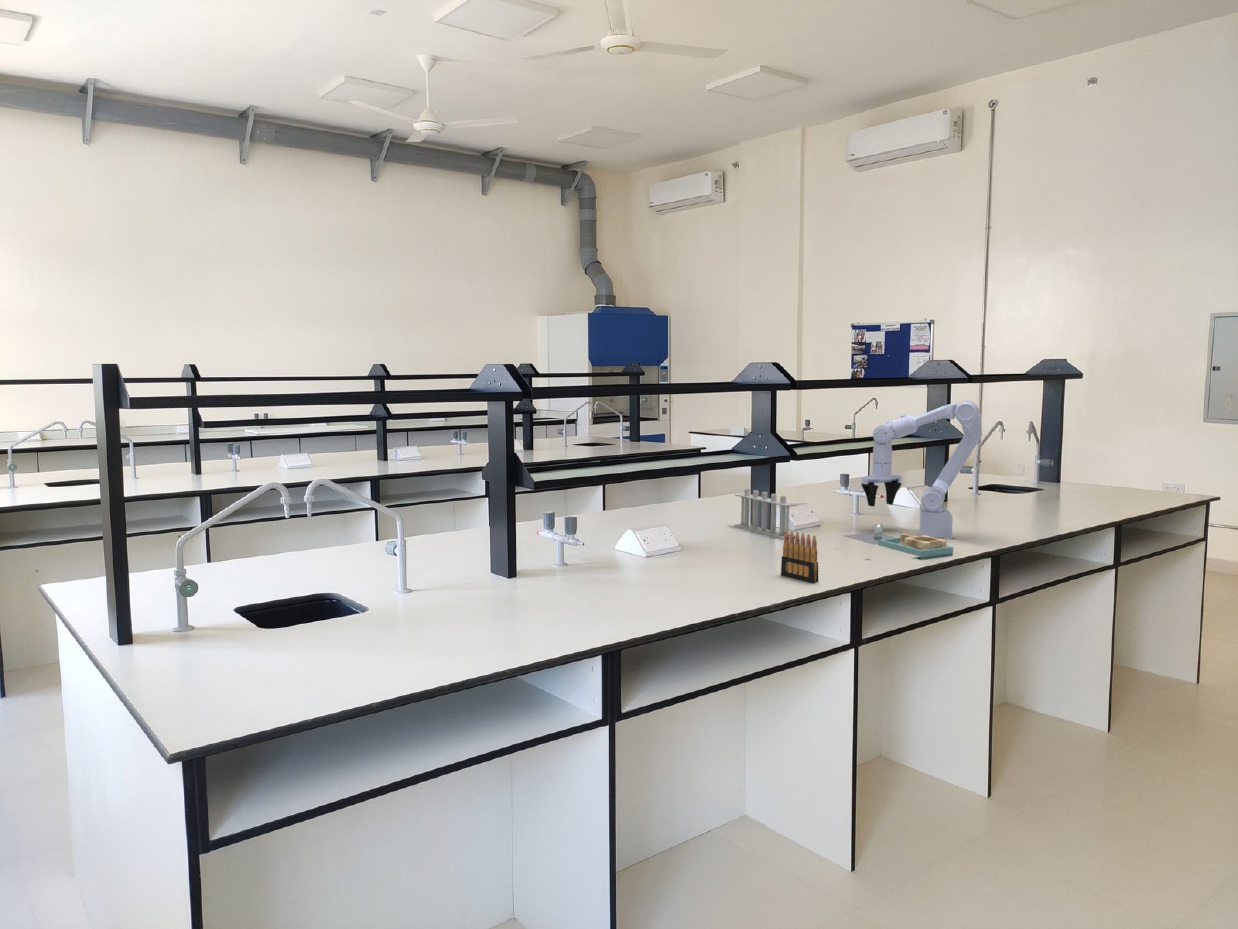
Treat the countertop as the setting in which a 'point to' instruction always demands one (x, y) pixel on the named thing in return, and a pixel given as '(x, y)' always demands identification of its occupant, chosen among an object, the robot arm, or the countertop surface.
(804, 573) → the ammunition clip
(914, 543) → the maple collar
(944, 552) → the tray
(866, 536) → the board
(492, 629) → the countertop surface
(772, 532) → the test tube rack
